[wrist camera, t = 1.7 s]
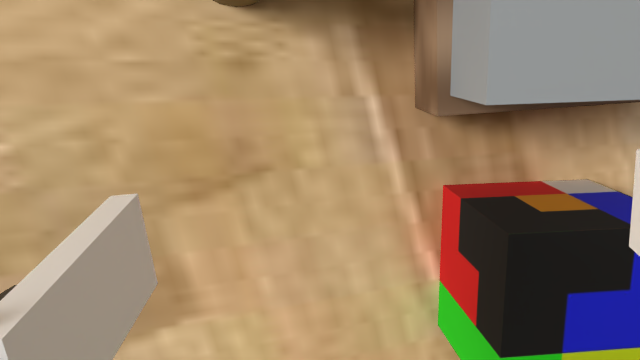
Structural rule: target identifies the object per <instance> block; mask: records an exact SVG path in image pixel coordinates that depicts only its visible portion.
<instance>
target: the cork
mask: <svg viewBox="0 0 640 360" xmlns="http://www.w3.org/2000/svg"><path fill="white" fill-rule="evenodd" d="M213 1H215V2H217V3H219V4H223V5H228V6H234V7H238V6H245V5H252V4H254V3H256V2H258V1H260V0H213Z"/></svg>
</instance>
